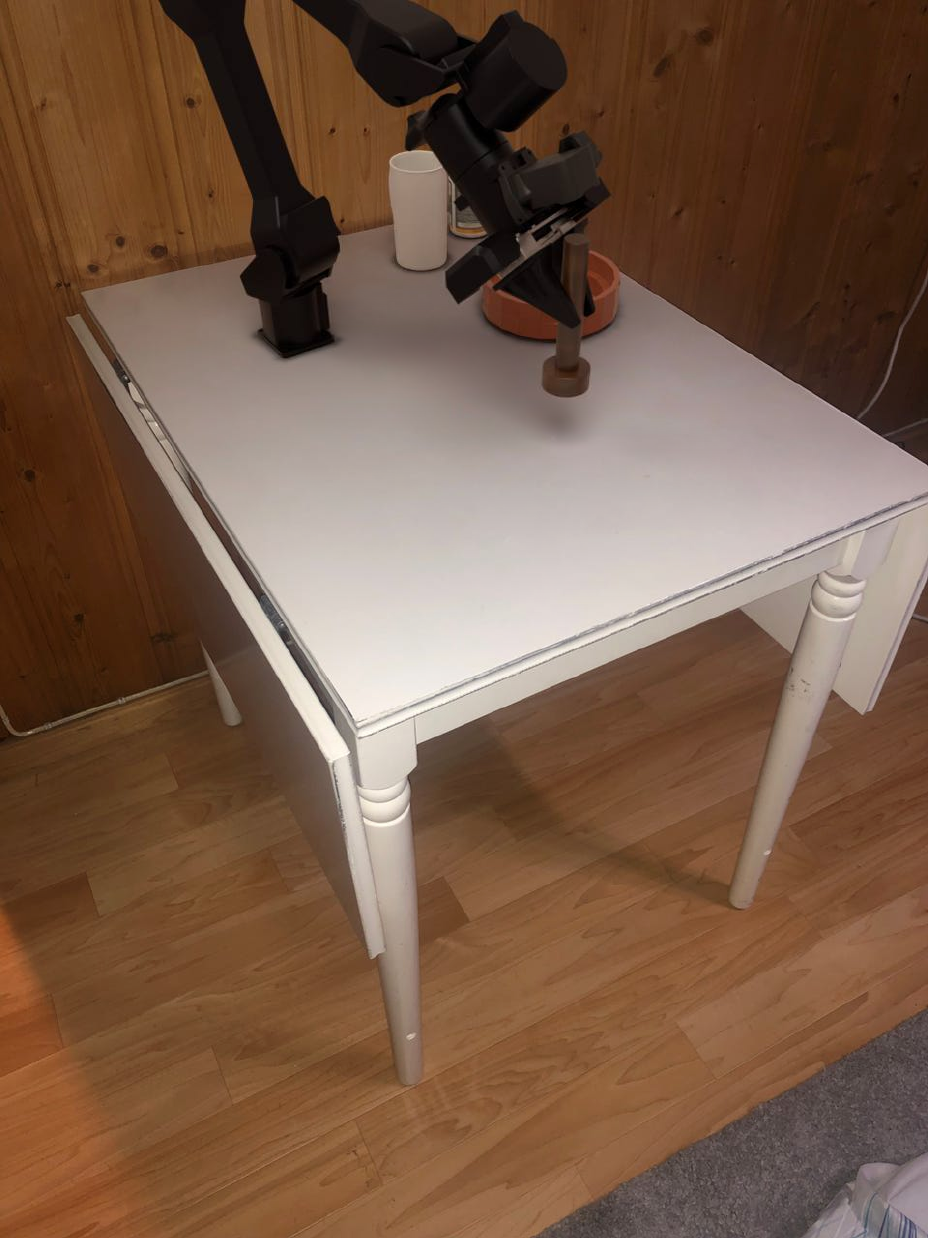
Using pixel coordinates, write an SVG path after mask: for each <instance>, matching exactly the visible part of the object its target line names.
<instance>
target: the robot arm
mask: <svg viewBox="0 0 928 1238" xmlns="http://www.w3.org/2000/svg"><path fill="white" fill-rule="evenodd" d="M157 1H158V3H159V4H160V7H161V9H162V10H163V13H164V14H165V16H167V18H169V20H171V21H172V22H173V24H174V25H176V26H177V27H178V28H179V29H180V31H182V32H183V33H184V35H186V36H187V37H188V38H189V39H190V40H191V41H192V43H193V45H194V47H195V49H196V53H197V55H198V57H199V61H200V63H201V67H202V69H203V71H204V73H205V76H206V79H207V81H208V85H209V87H210V90H211V92H212V94H213V97H214V101H215V102H216V105H217V108H218V110H219V113H220V116H221V118H222V120H223V121H222V122H223V124H224V126H225V129H226V132H227V135H228V137H229V139H230V141H231V145H232V147H233V150H234V153H235V154H236V157H237V160H238V163H239V165H240V168H241V172H242V174H243V176H244V179H245V182H246V183H247V186H248V189H249V192H250V195H251V197H252V207H251V208H252V209H251V219H250V228H249V234H250V238H251V241H252V245H253V250H254V253H255V256H254V258H253V259H252V260H251V262H249V264H248V265H247V266H246V268H244V270H243V271H242V272H241V273H240V275H239V279H240V282H241V283H242V287H243V289H244V292H245V294H246V295H247V296H249V297H251V298H252V299H253V298H254V299H256V300H258V304H259V310H260V318H261V324H262V327H261V328H258V329H257V335H258V336H259V337H260V338H261V339H262V340H263V341H264V342H265V343H266V344H268V345H269V346H270V347H271V348H272V349H273V350H274V351H275V352H276V353H277V354H278V355H279V356H281V357H283V358H288V357H291V356H294V355H296V354H299V353H303V352H306V351H309V350H311V349H315V348H318V347H322V346H323V345H327V344H330V343H333V342H335V335H334V334H333V333H332V332H330V331H329V329H330V328H331V320H330V312H329V311H330V310H329V301H328V295H327V294H326V292H324V291H323V284H322V282H321V281H322V280H323V281H324V279H328V278H330V277H331V276H332V274H333V273H332V272H333V268H334V264H335V263H336V262H337V259H338V257H339V254H340V253H341V245H340V239H339V236H341V235H342V232H341V230H340V229H339V227H338V225H337V223H336V221H335V218H334V216H333V212H332V207H331V203H330V201H329V199H328V198H327V197H326V196H325V195H321V196H319V197H315V196H314V194H312V193H311V192H310V191H309V190H308V189H307V187H305V186H304V185H303V184H302V183H301V181H300V179H299V176H298V173H297V171H296V168H295V167H296V166H295V165H294V162H293V159H292V157H291V154H290V150H289V148H288V145H287V142H286V140H285V137H284V133H283V131H282V128H281V124H280V123H279V119H278V116H277V114H276V111H275V108H274V106H273V103H272V100H271V97H270V94H269V92H268V89H267V85H266V83H265V80H264V77H263V74H262V72H261V68H260V66H259V62H258V60H257V57H256V55H255V52H254V49H253V45H252V43H251V40H250V37H249V35H248V32H247V29H246V25H245V16H246V6H247V5H246V4H247V0H157ZM290 1H291V2H292V3H294V5H296V6H297V7H299V8H300V9H301V10H302V11H303V12H305V13H306V14H307V15H308V16H310V17H311V18H312V19H313V20H315V21H316V22H317V23H318V24H320V25H321V26H322V27H323V28H324V29H326V30H327V31H328V32H329V33H330V34H331V35H333V36H334V37H335V38H337V39H338V40H339V42H340V43H341V44H343V46H344V47H345V48H346V49H347V52H348V53H349V57H350V59H351V63H352V65H353V68H354V70H355V71H356V73H357V74H358V75H359V77H361V78H362V79H363V81H364V82H365V83H366V84H367V85H368V86H369V88H371V90H372V91H373V92H374V93H375V94H376V95H377V96H378V98H379V99H381V101H383V102H384V103H385V104H387V105H389V106H391V107H393V108H396V109H400V108H405V107H407V106H412V105H413V104H415V103H418V102H420V101H423V100H424V99H427V98H428V97H431V96H433V95H436V94H437V93H439V92H442V91H444V90H446V89H448V88H451V87H452V86H454V85H457V84H458V85H459V87H460V89H459V90H458V91H457V92H456V93H455V92H446V93H444V94H441V95H439V97H437V99H436V100H435V101H434V102H433V103H432V104H431V105H430V107H428V109H427V110H425V109H423V108H421V109H419V110H418V111H415V112H413V113H411V114H409V115H407V117H406V122H407V129H406V134H405V139H404V149H405V151H406V152H407V151H409V152H411V151H416V149H418V148H420V147H422V146H424V145H426V144H427V145H428V147H429V148H430V150H431V152H433V153H434V155H435V156H436V158H437V159H438V161H439V162H440V164H441V165H442V167H443V168H444V170H445V171H446V173H447V177H448V178H449V177H450V179H451V180H452V182H453V183H454V185H455V186H456V188H457V189H458V191H459V192H460V194H461V195H460V196H459V197H458V198H457V199H456V200H455V201H454V204H455V205H456V207H457V208H458V210H459V211H460V212H461V211H463V210H465V209H466V208H468V207H469V208H470V209H471V211H472V212H473V214H474V215H475V217H476V218H477V220H478V221H479V223H480V224H481V226H482V227H483V229H484V230H485V232H486V233H487V234H486V235H487V237H486V238H484V239H483V240H481V241H480V242H478V243H477V244H475V245H474V246H473V247H472V248H471V249H469V251H467V252H466V253H465V254H464V255H463V256H461V257H460V258H459V259H457V261H456V262H454V263H453V264H452V265H451V266H450V267H449V268H447V269H446V270H445V272H444V282H445V283H444V285H445V286H444V287H445V288H446V289H447V291H448V292H449V294H450V295H451V297H452V298H453V300H454V301H455V303H456V304H457V305H460V304H461V303H463V302H465V301H466V300H467V299H469V298H470V297H472V296H473V295H476V293H477V292H479V291H480V288H482V287H483V285H484V284H485V283H486V282H488V281H489V280H490V279H491V278H492V277H494V276H495V275H496V274H497V275H498V276H499V278H500V279H501V280H500V281H499V282H498V283H496V284H495V285H494V286H493V287H492V289H493V290H494V291H495V292H496V291H498V290H502V291H504V292H506V293H508V294H510V295H512V296H514V297H516V298H518V299H520V300H522V301H524V302H526V303H528V304H530V305H532V306H533V307H535V308H537V309H539V310H540V311H542V312H544V313H545V314H547V315H549V316H550V317H552V318H554V319H555V320H557V321H559V322H560V323H562V324H564V325H565V326H567V327H569V328H571V329H574V328H576V327H577V326H579V325H580V324H581V320H580V317H579V315H578V313H577V311H576V309H575V307H574V305H573V303H572V301H571V300H570V298H569V296H568V294H567V293H566V291H565V289H564V287H563V286H562V284H561V272H562V258H563V244H564V237H565V236H566V235H568V234H573V233H579V234H584V233H585V229H586V227H587V226H588V225H589V217H586V218H585V216H587V215H588V214H589V213H591V212H593V210H595V209H596V208H597V207H598V206H600V205H601V204H602V203H604V202H605V201H606V200H607V199H608V198H610V197H611V196H612V194H611V192H610V190H609V189H608V187H607V186H606V185H605V183H604V181H603V179H602V177H600V176H599V175H598V171H597V168H599V166H600V163H601V162H602V160H603V152H602V151H601V150H599V149H598V147H597V144H596V143H595V142H594V141H593V139H592V138H591V137H590V135H589V134H588V133H587V131H586V130H585V129H580V130H578V131H574V132H571V133H569V134H567V135H566V136H564V137H562V138H560V140H559V142H558V152H554V153H552V154H550V155H548V156H546V157H543V158H540V159H538V158H537V157H536V156H535V153H534V152H533V151H532V149H530V148H528V147H526V146H523V147H521V148H519V149H518V150H515V147H514V146H513V145H512V144H511V141H510V140H509V138H508V137H507V135H506V133H513V132H517V131H518V130H519V129H520V128H521V127H522V126H523V125H524V124H525V123H527V121H528V120H529V119H530V118H531V117H533V116H534V115H535V114H536V113H537V112H538V111H539V110H540V109H541V108H542V107H543V106H544V105H545V104H546V103H547V102H548V101H550V100H551V98H553V97H554V96H555V95H556V94H557V93H558V92H559V91H560V90H561V89H562V88H563V87H564V85H565V84H566V83H567V80H568V75H569V74H568V73H569V72H568V65H567V60H566V57H565V54H564V52H563V51H562V48H561V46H560V45H559V43H558V42H557V40H556V39H555V38H553V37H550V36H549V35H548V34H547V33H546V32H545V30H543V29H542V28H540V27H539V26H537V25H536V24H534V23H531V22H528V21H525V20H524V19H523V18H522V16H521V14H520V12H519V11H518V9H516V8H513V9H510V10H507V11H505V12H503V13H500V14H499V15H498V17H496V19H495V20H493V22H492V23H491V25H490V26H489V28H488V30H487V33H486V34H485V35H484V36H483V38H482V39H481V40H480V41H479V40H478V39H474V38H473V37H470V36H468V35H465V34H462V33H460V32H457V31H456V29H455V28H454V26H453V25H452V24H451V23H450V22H449V20H447V19H446V18H445V17H443V16H442V15H440V14H438V13H436V12H434V11H432V10H430V9H429V8H427V7H425V6H423V5H421V4H419V3H417V2H415V1H412V0H290ZM583 218H584V219H583ZM580 220H581V221H580ZM533 226H534V227H533ZM517 235H519V236H517ZM595 311H596V308H595V305H594V301H593V297H592V293H591V289H590V286H589V282H588V278H587V282H586V293H585V304H584V316H585V317H589V316H591V315H592V314H593V313H595Z"/></svg>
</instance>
